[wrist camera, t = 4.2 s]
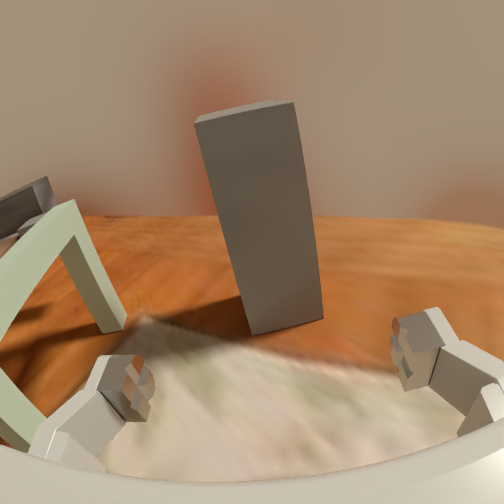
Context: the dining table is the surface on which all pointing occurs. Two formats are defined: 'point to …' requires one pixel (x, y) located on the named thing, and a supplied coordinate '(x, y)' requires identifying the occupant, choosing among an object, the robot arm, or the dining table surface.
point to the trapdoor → (23, 210)
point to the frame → (24, 281)
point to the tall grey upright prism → (264, 211)
